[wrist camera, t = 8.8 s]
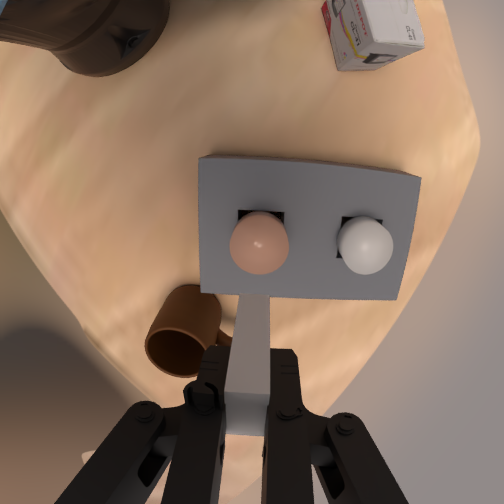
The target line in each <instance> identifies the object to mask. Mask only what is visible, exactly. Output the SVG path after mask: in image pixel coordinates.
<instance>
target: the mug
mask: <svg viewBox="0 0 504 504" xmlns="http://www.w3.org/2000/svg"><path fill="white" fill-rule="evenodd" d="M220 322H221V307H220V305H219V302H218V301H217V299H216V298H215V297H214V296H213V295H212V294H211V293H201V287H198V286H182V287H179V288H177V289H175V290H174V291H173V292H171V294H170V295H169V296H168V297H167V299H166V301H165V302H164V304H163V306H162V308H161V309H160V311H159V313H158V314H157V316H156V318H155V320H154V322H153V323H152V325H151V327H150V329H149V332H148V335H147V337H146V339H145V351H146V354H147V356H148V358H149V360H150V361H151V362H152V363H153V364H154V365H155V366H156V367H157V368H158V369H160V370H161V371H163V372H164V373H167V374H169V375H171V376H175V377H180V378H190V377H195V376H198V372H199V369H200V364H201V360H202V357H203V353H204V351H205V350H206V349H207V348H208V347H209V346H210V345H215V344H216V345H217V346H228V347H231V345H232V339H233V337H230V336H228V335H227V334H225V333H224V332H223V331H221V330H220V328H219V326H220Z"/></svg>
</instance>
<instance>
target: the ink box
mask: <svg viewBox="0 0 504 504" xmlns="http://www.w3.org/2000/svg"><path fill="white" fill-rule="evenodd" d="M321 9H322V12H323V15H324V18H325V22H326V25H327V29H328V32H329V36H330V40H331V44H332V48H333V52H334V56H335V60H336V65H337V69H338V70H339V71H360V70H376V69H378V68H381V67H383V66H385V65H387V64H389V63H391V62H393V61H395V60H398V59H400V58H402V57H405V56H407V55H409V54H412V53H414V52H417V51H419V50H421V49H424V35H423V32H422V28H421V24H420V20H419V17H418V15H417V12H416V8H415V4H414V1H413V0H326V1H325V3H324V4H323V6H322V8H321Z"/></svg>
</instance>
